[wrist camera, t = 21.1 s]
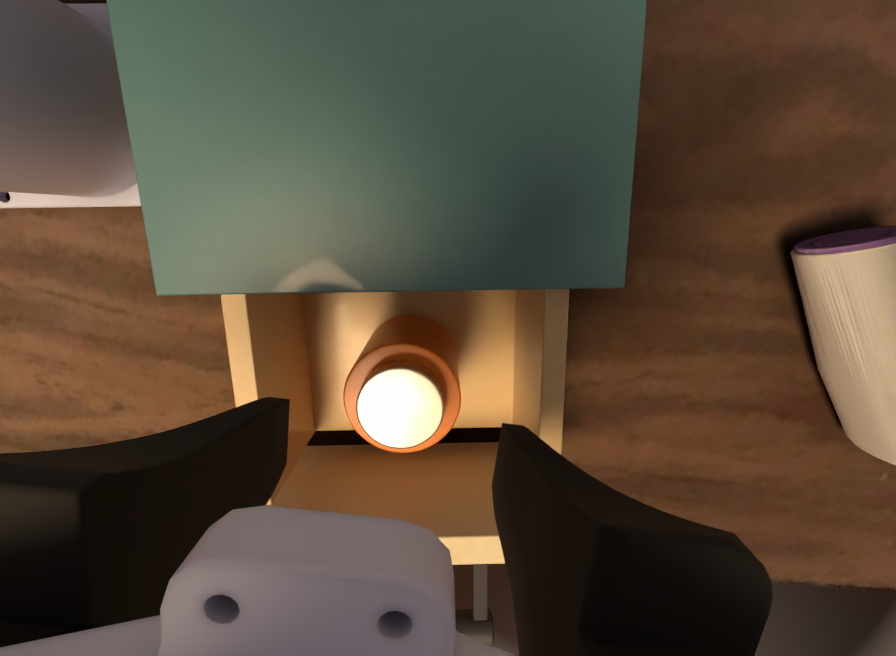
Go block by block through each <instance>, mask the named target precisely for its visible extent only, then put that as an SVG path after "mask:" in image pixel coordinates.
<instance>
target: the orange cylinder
mask: <svg viewBox="0 0 896 656" xmlns="http://www.w3.org/2000/svg"><path fill="white" fill-rule="evenodd" d="M343 401H344V408H345V411H346V415H347V417H348V419H349V421H350V423H351V425H352V426H353V428H354V429H355V430H356V432H357V433H358V434H359V435H360V436H361V437H362V438H363V439H365V440H366V441H367V442H369V443H370V444H372V445H374V446H376V447H378V448H380V449H383V450H386V451H391V452H397V453H409V452H415V451H420V450H423V449H426V448H428V447H430V446H432V445H434V444H435V443H437V442H439V441H440V440H441V439H442V438H443V437H445V436H446V434H447V433H448V432H449V431H450V430H451V428H452V427H453V426H454V424H455V422H456V420H457V417H458V415H459V411H460V406H461V390H460V381H459V372H458V363H457V354H456V349H455V346H454V343H453V341H452V339H451V337H450V336H449V334H448V333H447V332H446V331H445V329H444V328H443V327H441V326H440V325H439V324H438V323H436V322H435V321H433V320H431V319H429V318H426V317H423V316H418V315H402V316H398V317H395V318H392V319H390V320H388V321H386V322H384V323H383V324H381V325H380V326H379V327H378V328H377V329H376V330H375V331H374V333H373V334H372V336H371V337H370V339H369V340H368V342H367V344H366V345H365V347H364V349H363V350H362V352H361V354H360V355H359V357H358V359H357V360H356V362H355V364H354V365H353V367H352V369H351V370H350V372H349V374H348V376H347V379H346V382H345V385H344V392H343Z"/></svg>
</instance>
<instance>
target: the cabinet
mask: <svg viewBox="0 0 896 656" xmlns="http://www.w3.org/2000/svg"><path fill="white" fill-rule="evenodd" d="M106 3H107V9H108V15H109V21H110V26H111V32H112V38H113V44H114V50H115V56H116V62H117V67H118V73H119V79H120V85H121V91H122V97H123V103H124V108H125V114H126V120H127V126H128V132H129V138H130V144H131V150H132V155H133V161H134V167H135V173H136V179H137V185H138V191H139V196H140V202H141V208H142V214H143V220H144V226H145V232H146V237H147V243H148V249H149V255H150V261H151V267H152V273H153V278H154V284H155V290H156V294H157V295H158V296H175V295H234V294H293V293H352V292H411V291H470V290H529V289H588V288H623V287H624V286H625V273H626V261H627V248H628V235H629V223H630V210H631V197H632V185H633V172H634V159H635V146H636V134H637V121H638V108H639V96H640V83H641V70H642V58H643V45H644V32H645V20H646V7H647V0H106Z"/></svg>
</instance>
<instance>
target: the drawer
mask: <svg viewBox="0 0 896 656" xmlns="http://www.w3.org/2000/svg"><path fill="white" fill-rule="evenodd" d="M221 302H222V309H223V316H224V324H225V331H226V338H227V346H228V353H229V360H230V368H231V375H232V382H233V390H234V397H235V404H236V407H239V406H241V405H244V404H247V403H249V402H252V401H255V400H258V399H261V398H265V397H275V398H284V399H290V408H289V429H288V450H287V464H286V466H285V469H284V471H283V473H282V476H281V478H280V480H279V482H278V484H277V487H276V489H275V491H274V493H273V494H272V496H271V498H270V499H269V501H268V503H267V504H266V506H274V507H284V508H294V509H304V510H314V511H323V512H333V513H343V514H353V515H363V516H373V517H383V518H392V519H401V520H404V521H407V522H410V523H413V524H416V525H419V526H422V527H424V528H427V529H430V530H431V531H432V532H433V533H434V534H435V535H436V536H437V537H438V538H439V539H440V541H441V542H442V543H443V544H444V545H445V546H446V547H447V548H448V549H449V550H450V555H451V561H452V565H454V564H455V565H456V564H472V609H455V621H456V630H457V631H458V632H459V633H461V634H464V635H466V636H469V637H471V638H473V639H476V640H478V641H481V642H483V643H486V644H488V645H491V646H493V647H494V631H493V618H492V612H491V610H490V609H488V564H499V563H505V560H504V556H503V551H502V547H501V543H500V539H499V534H498V530H497V525H496V521H495V516H494V507H493V495H492V481H493V475H494V469H495V463H496V457H497V451H498V445H499V442H476V443H435V444H434V445H432V446H430V447H428V448H426V449H423V450H420V451H415V452H409V453H397V452H391V451H386V450H383V449H380V448H378V447H376V446H374V445H329V446H307V444H308V442H309V441H310V439H311V437H312V436H313V434H314V432H315V431H336V430H355V429H354V428H353V426H352V425H351V423H350V421H349V419H348V417H347V415H346V411H345V408H344V401H343V392H344V385H345V382H346V379H347V376H348V374H349V372H350V370H351V369H352V367H353V365H354V364H355V362H356V360H357V359H358V357H359V355H360V354H361V352H362V350H363V349H364V347H365V345H366V344H367V342H368V340H369V339H370V337H371V336H372V334H373V333H374V331H375V330H376V329H377V328H378V327H379V326H380V325H381V324H383V323H384V322H386V321H388V320H390V319H392V318H395V317H398V316H402V315H418V316H423V317H426V318H429V319H431V320H433V321H435V322H436V323H438V324H439V325H440V326H441V327H443V328H444V329H445V331H446V332H447V333H448V334H449V336H450V337H451V339H452V341H453V343H454V346H455V349H456V354H457V363H458V372H459V381H460V390H461V406H460V411H459V415H458V417H457V420H456V422H455V424H454V426H453V427H452V428H486V427H502V423H507V424H516V425H523V426H525V427H526V428H528V429H529V430H531V431H532V432H533V433H534V434H536V435H537V436H538V437H539V438H540V439H542V440H543V441H544V442H545V443H547V444H548V445H549V446H550V447H551V448H553V449H554V450H555V451H556V452H558V453H559V454H560V455H561V449H562V429H563V409H564V389H565V369H566V349H567V329H568V308H569V289H529V290H470V291H411V292H352V293H293V294H234V295H221Z"/></svg>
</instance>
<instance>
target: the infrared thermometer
mask: <svg viewBox="0 0 896 656" xmlns="http://www.w3.org/2000/svg"><path fill="white" fill-rule="evenodd" d="M791 257H792V261H793V265H794V269H795V273H796V277H797V282H798V286H799V290H800V294H801V298H802V303H803V307H804V311H805V315H806V320H807V324H808V328H809V333H810V337H811V341H812V346H813V350H814V354H815V359H816V364H817V368H818V371H819V373H820V375H821V378H822V380H823V382H824V385H825V387H826V389H827V392H828V394H829V396H830V399H831V401H832V403H833V406H834V408H835V410H836V412H837V415H838V417H839V419H840V422H841V424H842V427H843V429H844V431H845V434H846V436H847V437H848V438H849V439H850V440H851V441H852V442H853V443H854V444H855V445H856V446H857V447H859V448H860V449H862V450H863V451H865V452H867V453H869V454H871V455H873V456H875V457H877V458H879V459H881V460H884V461H886V462H888V463H891V464H893V465H896V226H882V227H871V228H863V229H856V230H849V231H843V232H838V233H833V234H828V235H823V236H819V237H815V238H812V239H808V240H805V241H802V242H800V243H798V244H796V245H795V246H794V249H793V250H792V251H791Z"/></svg>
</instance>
